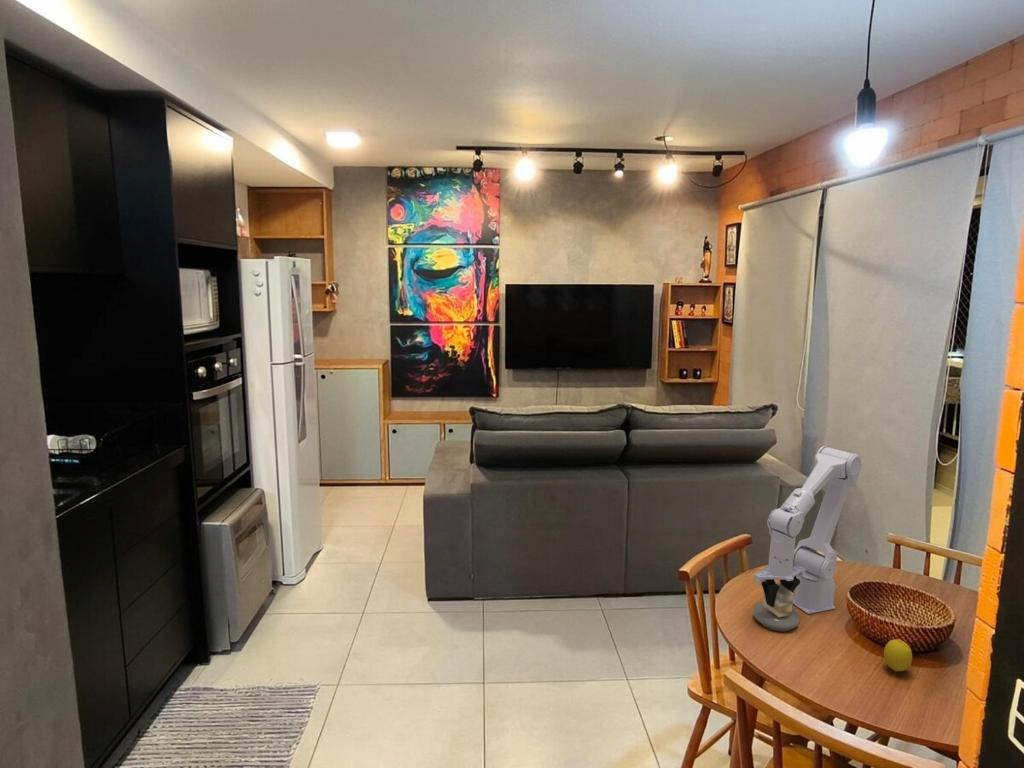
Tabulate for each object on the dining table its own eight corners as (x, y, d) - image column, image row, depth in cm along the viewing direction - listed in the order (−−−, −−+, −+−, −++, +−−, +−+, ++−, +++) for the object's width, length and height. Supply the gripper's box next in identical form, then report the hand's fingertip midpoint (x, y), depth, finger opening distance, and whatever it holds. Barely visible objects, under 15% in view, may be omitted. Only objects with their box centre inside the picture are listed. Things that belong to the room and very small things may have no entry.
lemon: (907, 667, 144) (912, 636, 143) (911, 681, 139) (916, 649, 138) (880, 661, 147) (884, 630, 145) (883, 674, 142) (887, 643, 140)
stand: (777, 607, 169) (778, 598, 169) (807, 629, 159) (808, 620, 159) (744, 613, 166) (744, 605, 166) (772, 636, 156) (773, 627, 155)
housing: (775, 602, 165) (777, 582, 164) (791, 614, 160) (793, 593, 158) (762, 605, 164) (764, 584, 163) (778, 617, 158) (780, 595, 157)
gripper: (768, 566, 153) (764, 616, 156) (816, 558, 157) (811, 607, 160) (750, 553, 160) (745, 601, 162) (795, 546, 164) (791, 593, 167)
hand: (776, 603), depth 162 cm, fingers closed on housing, 4 cm apart
